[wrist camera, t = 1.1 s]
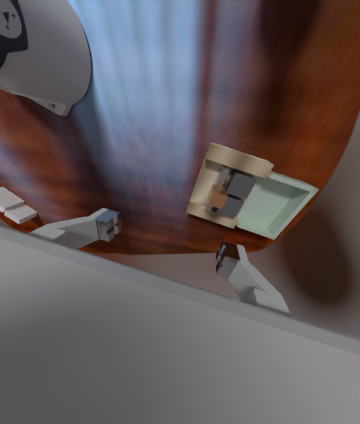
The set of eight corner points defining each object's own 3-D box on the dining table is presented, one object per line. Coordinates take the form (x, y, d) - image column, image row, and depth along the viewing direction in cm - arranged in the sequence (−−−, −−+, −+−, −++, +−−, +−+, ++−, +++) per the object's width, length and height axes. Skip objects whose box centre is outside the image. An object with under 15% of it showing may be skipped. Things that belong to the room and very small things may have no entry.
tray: (234, 217, 32) (237, 226, 29) (263, 168, 26) (271, 173, 23) (266, 228, 32) (273, 239, 29) (304, 182, 26) (319, 189, 22)
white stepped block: (-6, 183, 43) (-34, 189, 38) (17, 179, 40) (-9, 184, 35) (27, 222, 49) (7, 232, 44) (49, 221, 47) (30, 231, 42)
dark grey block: (224, 187, 28) (225, 192, 26) (233, 169, 26) (236, 172, 24) (242, 193, 28) (245, 199, 25) (252, 175, 26) (257, 180, 23)
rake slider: (202, 203, 30) (201, 219, 24) (219, 164, 26) (222, 172, 20) (212, 206, 30) (213, 223, 24) (231, 168, 26) (238, 177, 20)
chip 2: (215, 205, 31) (216, 212, 28) (223, 190, 28) (224, 195, 26) (232, 211, 30) (234, 218, 28) (240, 196, 28) (244, 202, 26)
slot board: (187, 207, 33) (185, 213, 31) (210, 141, 25) (210, 142, 23) (231, 222, 33) (233, 229, 30) (268, 160, 25) (274, 163, 23)
